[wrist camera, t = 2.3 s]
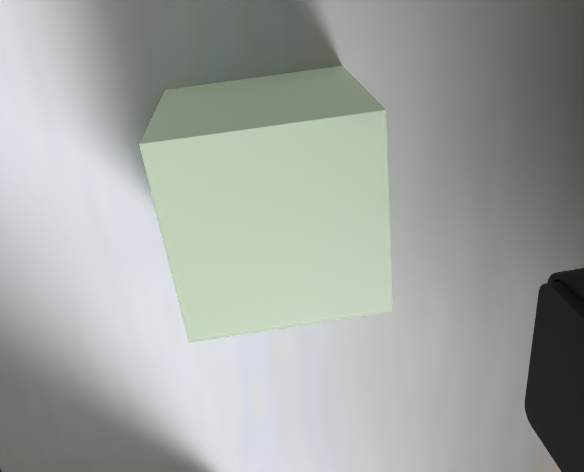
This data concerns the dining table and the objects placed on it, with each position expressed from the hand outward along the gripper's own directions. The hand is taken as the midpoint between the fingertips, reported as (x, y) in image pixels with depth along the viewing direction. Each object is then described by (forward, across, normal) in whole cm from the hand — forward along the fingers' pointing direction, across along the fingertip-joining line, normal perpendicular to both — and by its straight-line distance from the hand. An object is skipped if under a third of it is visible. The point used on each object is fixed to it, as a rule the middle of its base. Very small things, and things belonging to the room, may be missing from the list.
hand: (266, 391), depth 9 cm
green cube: (+12, -1, +1) cm, 12 cm away
